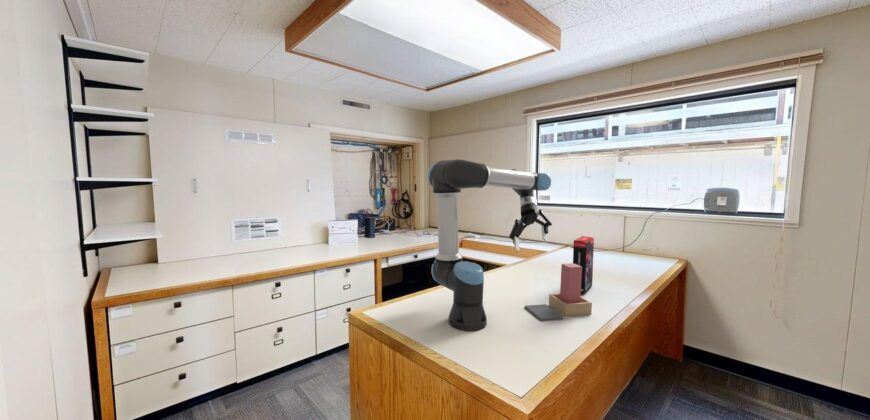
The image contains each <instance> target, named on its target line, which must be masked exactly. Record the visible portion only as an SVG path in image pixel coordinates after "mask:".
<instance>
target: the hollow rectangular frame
mask: <svg viewBox="0 0 870 420" xmlns="http://www.w3.org/2000/svg"><path fill="white" fill-rule="evenodd" d="M548 306H549V307H550V308H552V309H553V310H555V311H556V312H557V313H559V314H560V315H561V314H562V316H563V317H570V316H581V315H592V309H593V308H592V307H593V302H591V301H590V300H588V299H586V298H584V297H582V296H580V303H570V304H566V303H564V302H563V301H561V300H560V293H550V294H548Z"/></svg>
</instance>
